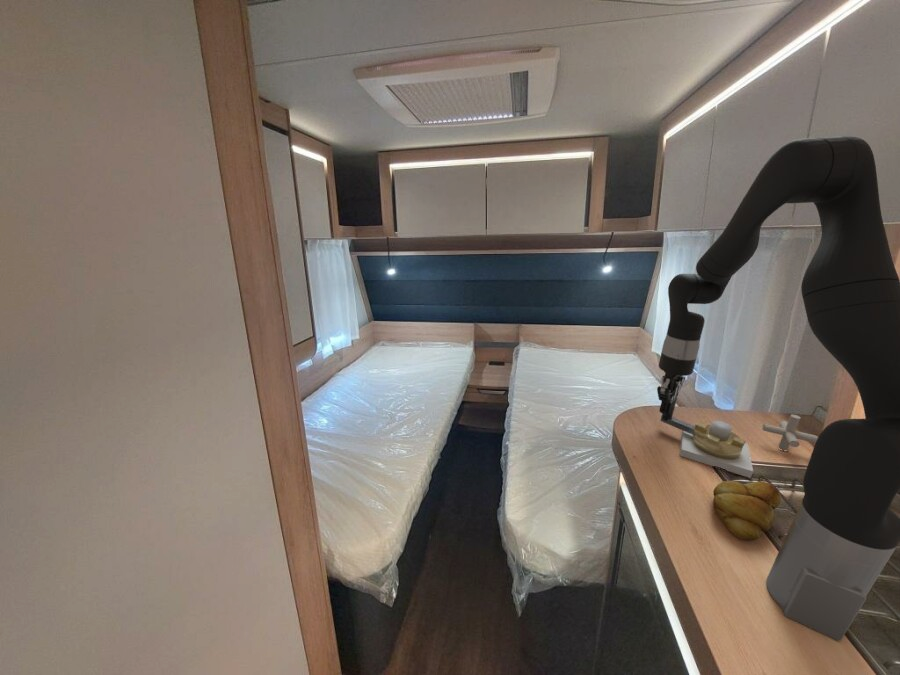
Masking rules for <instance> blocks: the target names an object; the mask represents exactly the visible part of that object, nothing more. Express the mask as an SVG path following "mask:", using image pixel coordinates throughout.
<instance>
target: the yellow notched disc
mask: <svg viewBox="0 0 900 675" xmlns="http://www.w3.org/2000/svg"><path fill="white" fill-rule="evenodd" d="M677 400H678V396H677V397H675V400H674V401H673V404H672V408H671V412H670V413H669V414H668V415H666V414H663V413H661V417H660V422H661V423H665V424H667V425H669V426H671V427H674V428H676V429H678V430H681V431H682V430H683V431H685V432H687V433H690V434H692V435H693V437H692V442H693V443H694V445H695V446H696V447H697V448H699V449H700V450H702V451H703V452H705V453H707V454H710V455H712V456H715V457H718V458H723V459H736V458H738V457H739V456H740V454H741V451H742V448H743V446H744V444H745V443H746V440H745V439H743V438H741V437H740V436H739V435H737V434H736V433H734V432H732V431H731V433H730V436H729V439H728V440H720V438H717V437H715V436H713V435H710V434H709V431H710V427H711V424H706V423H703V422H700V421H697V422H696V423H694V424H695V425H694V424H691V423H688V422H686V421H683V420H681V419H679V418H676V417H674V416H673V415H674V411H675V408H676V403H677Z"/></svg>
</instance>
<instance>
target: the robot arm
mask: <svg viewBox="0 0 900 675" xmlns="http://www.w3.org/2000/svg"><path fill="white" fill-rule="evenodd" d="M879 191H880V190H879V182H878V173H877V166H876V160H875V156H874V153H873V150H872V148H871V145H869V143H868V142H867V141H866V140H864V139H863V138H861V137H858V136H852V135H839V136H835V135H834V136H821V137H820V136H819V137H804V138H800V139H794V140H791V141H789V142H786V143H784V144H783V145H782V146H780V147H779V148H778V149H776V150H775V152H774V153H772V155H771V156H770V157H769V158H768V159H767V161H766V162H765V164H764V165H763V167H762V168H761V170H760V171H759V173H758V174H757V176H755V179H754V180H753V182H752V183H751V185H750V187H749V188H748V190H747V192H746V193H745V195H744V197H743V199H742V200H741V202H740V203H739V205H738V207H737V209H736V210H735V212H734V214H733V215H732V217H731V219H730V220H729V222H728V223H727V225H726V227H725V228H724V230H723V231H722V232H721V234H720V235H719V236H718V238H716V240H715V241H714V242H713V243H712V245H710V247H708V249H707V250H706V251H705V252H704V253H703V255H702V256H701V257H700V258H699V259H698V261H697V262H696V265H695V266H696V267H695V271H696V273H679V274H677V275H675V276H674V277H673V278H672V279H671V280H670V282H669V285H668V288H667V295H668V303H669V322H668V327H667V331H666V335H665V339H664V341H663V344H662V348H661V352H660V357H659V361H658V368H659V369H660V370H661V371H663V372H664V375H662V377H661V380H660V382H661V385H658V386H657V388H656V389H657V397H658V400H659V401H661V403H660V407H659V413H661V414H662V413H663V414H666V415H668V414H669V413H670V412H671V408H672V404H673V401H674V400H675V397H677V398H678V396H679V393H680V392H681V389H682V387H683V384H684V382H685V380H686V376H687V377H688V376H690V375H691V374H693V372H694V369H695V365H696V361H697V357H698V354H699V350H700V342H701V337H702V334H703V331H704V326H705V317H704V316H703V315H702V314H700V313H697V312H692V311H689V308H688V304H690V305H691V304H695V305H696V304H697V305H698V304H699V305H707V304H712V303H714V302H716V301H718V300H719V299H720V298H721V297H722V296H723V294H724V292H725V289H726V288H727V286H728V284H729V282H730V280H731V279H732V277H733V276H734V275H735V274H736V273H737V272H739V270H740V269H742V267H743V266H745V265H746V264H747V263H748V262H749V261H750V260H751V258H753V256H754V255H755V253H756V251H757V249H758V248H759V243H760V235H761V228H762V225H763V223H764V222H765V221H766V220H767V218H769V217H770V216H771V215H772V214H773V213H774V212H776V211H777V210H778V209H779V208H781V207H782V206H784V205H786V204H805V203H813V204H814V205H815V207H816V211H817V214H818V217H819V222H820V227H821V236H820V237H821V238H820V241H819V245H818V247H817V248H816V250H815V252H814V255H813V256H812V258H811V259H810V262H809V264H808V265H807V268H806V270H805V273H804V275H803V278H802V281H801V287H800V288H801V289H800V290H801V296H802V301H803V305H804V310H805V313H806V319H807V322H808V324H809V327H810V329H811V331H812V333H813V335H814V336H815V338H817V340H818V341H819V342H820V343H821V345H822V346H823V347H824V348H825V350H827V351H828V352H829V353H830V354H831V355H832V357H834V359H835V360H836V361H837V362H838V363H839V364H840V365H841V366H842V368H844V370H846V372H847V374H849V376H850V377H851V378H852V381H853V382H854V385H855V386H856V387H857V390H858V393H859V396H860V399H861V403H862V406H863V407H862V408H863V412H864V417H865V418H845V419H838V420H835V421H833V422H832V423H828V425H827V426H826V427H824V428H823V430H822V431H821V432H820V434H819V436H817V437H818V439H817V441H816V443H814V447H813V449H812V453H811V454H810V456H809V457H810V458H809V461H808V464H807V466H806V470H805V473H804V476H803V490H804V495H803V498H802V500H801V503H800V505H799V507H798V509H797V512H796V514H795V516H794V518H793V521H792V522H791V525H789V529H788V530H787V533H786V535H785V537H784V540H783V541H782V544H781V546H780V548H779V550H778V552H777V554H776V558H775V559H774V562H773V564H772V566H771V568H770V571H769V573H768V575H767V578H766V581H765V582H766V588H767V590H768V592H769V594H770V596H771V597H772V599H773V600H774V601H775V602H776V604H778V606H779V607H780V608H781V610H782V614H783V615H784V616H785V617H787V618H789V619H791V620H793V621H796V622H797V623H799V624H802V625H803V626H805V627H808V628H810V629H812V630H815V631H816V632H819V633H821V634H822V635H823V634H824V635H825V636H827V637H830V638H831V639H834V640H836V641H838V642H841V641H842V640H843V638H844V636H845V635H846V632H848V630H849V628H850V627H851V625H852V623H853V622H854V620H855V618H856V617H857V615H858V614H859V612H860V610H861V609H862V607H863V605H864V603H865V602H866V600H867V596H868V594H869V592H870V590H871V589H872V587H873V586H874V584H875V582H876V580H877V579H878V578H879V576H880V574H881V573H882V571H883V569H884V567H885V566H886V565H887V563H888V562H889V560H890V558H891V556H892V555H893V553H894V552H895V550H896V549H897V547H898V545H899V543H900V517H899V516H898V515H897V514H896V513H895V512H894V511H892V509H890V507H891V504H892V503H893V500H894V498H895V497H896V495H897V494H900V277H899V275H898V273H897V270H896V266H895V264H894V261H893V258H892V252H891V250H890V249H891V248H890V245H889V241H888V240H889V239H888V236H887V233H886V229H885V228H886V227H885V225H884V221H883V217H882V210H881V209H882V208H881V203H880V202H881V201H880V194H879V193H880V192H879Z"/></svg>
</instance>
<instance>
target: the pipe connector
mask: <svg viewBox="0 0 900 675" xmlns="http://www.w3.org/2000/svg"><path fill="white" fill-rule="evenodd" d="M800 420H801V417H800V416H799V415H796V414H790V417H789V418H788V421H787V420H781V421H780V422H779V424H778V425H779V426H780V427H779V426H776V425H772V424H771V425H770V424H767V423H763V424H762V431H763V432H767V433H768V432H769V433H770V434H771V433H772V434H776V435H780V436H781V439H780V441H779V444H778V446H777V448H778V447H779V448H780V449H782V450H787V451H788V450H789V448H790V447H792V448H798V447H799V446H800V442H799V440H802V441H806V442H809V443H813V444H815V443H816V441H817V439H818V437H819V436H817V435H814V434H810V433H807V432H802V431H797V428H798V426H799V423H800Z"/></svg>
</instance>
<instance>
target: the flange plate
mask: <svg viewBox="0 0 900 675" xmlns="http://www.w3.org/2000/svg"><path fill="white" fill-rule="evenodd" d="M710 425H711V427H710V431H709V434H710V435H713V436H715V437H717V438H720V440H728V439H729V436H730V433H731V432H732V430H733V428H732V426H731V424H728V423H727V422H724V421H721V420H713V421H712V422H711V424H710ZM692 437H693V435H692V434H690V433H687V432H685V431H683V430H681V441H680V449H679V450H680V452H679V456H680V457H683V458H685V459H688V460H691V461H695V462H699V463H701V464H705V465H708V466H711V467H714V466H718V467H721V468H723V469H726V470H727V471H726V470H725V471H726V472H730V473H733V474H737V475H740V476H743V477H745V478H749V479H751V478H752V476H753V473H754V468H753V464H752V463H753V461H752V459H751V454H750V453H751V452H750V448H749V444H748V443H747V442H745V444H744V446H743V448H742V451H741V454H740V456H739V457H738V458H736V459H723V458H718V457H715V456H712V455H710V454H707V453H705V452H703V451H702V450H700V449H699V448H697V447H696V446H695V445H694V443H693V442H692ZM723 469H722V470H723Z"/></svg>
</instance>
